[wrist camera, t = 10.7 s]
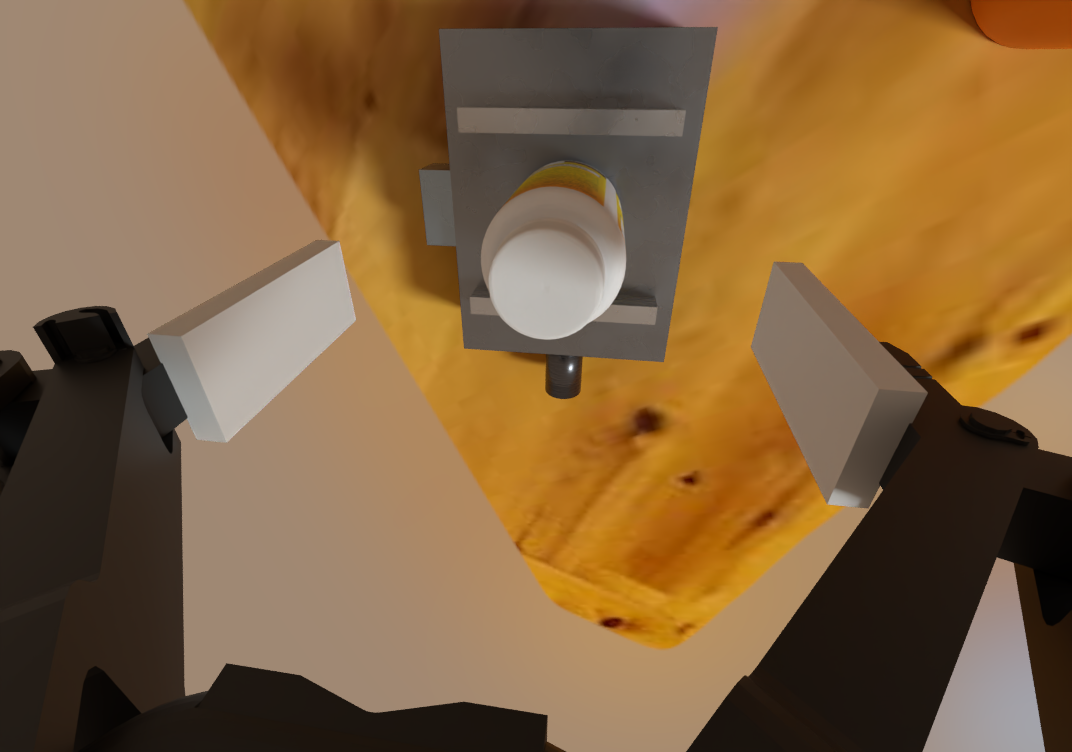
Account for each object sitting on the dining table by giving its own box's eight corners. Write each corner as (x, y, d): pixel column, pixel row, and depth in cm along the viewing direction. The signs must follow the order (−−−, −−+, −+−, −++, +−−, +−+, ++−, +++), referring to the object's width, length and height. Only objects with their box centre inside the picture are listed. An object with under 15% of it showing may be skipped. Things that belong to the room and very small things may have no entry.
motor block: (430, 38, 26) (382, 25, 21) (699, 37, 25) (725, 23, 19) (459, 363, 36) (431, 413, 31) (649, 376, 35) (656, 431, 29)
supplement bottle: (492, 201, 25) (430, 262, 16) (584, 133, 23) (569, 163, 14) (552, 288, 27) (524, 384, 18) (642, 234, 25) (659, 313, 16)
